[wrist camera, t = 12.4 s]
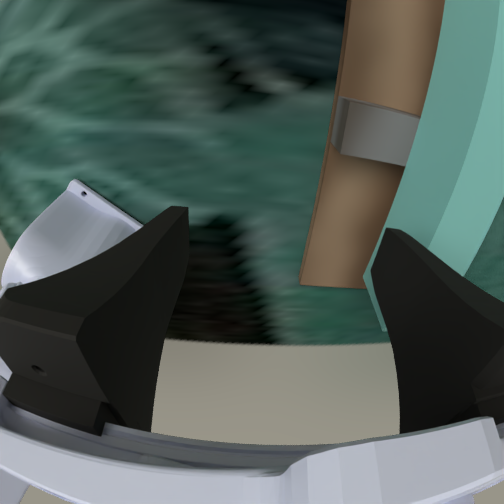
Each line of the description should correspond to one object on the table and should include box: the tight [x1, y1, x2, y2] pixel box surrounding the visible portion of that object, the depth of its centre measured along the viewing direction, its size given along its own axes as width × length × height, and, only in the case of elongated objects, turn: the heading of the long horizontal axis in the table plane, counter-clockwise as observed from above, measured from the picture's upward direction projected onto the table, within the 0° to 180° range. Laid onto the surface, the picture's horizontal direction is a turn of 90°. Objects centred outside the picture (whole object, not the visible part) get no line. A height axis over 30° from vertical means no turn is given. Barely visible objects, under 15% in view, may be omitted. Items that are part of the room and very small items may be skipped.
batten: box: [363, 0, 504, 331], centre depth 13 cm, size 20×4×5 cm, turn 171°
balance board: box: [299, 0, 445, 289], centre depth 17 cm, size 12×26×4 cm, turn 175°
